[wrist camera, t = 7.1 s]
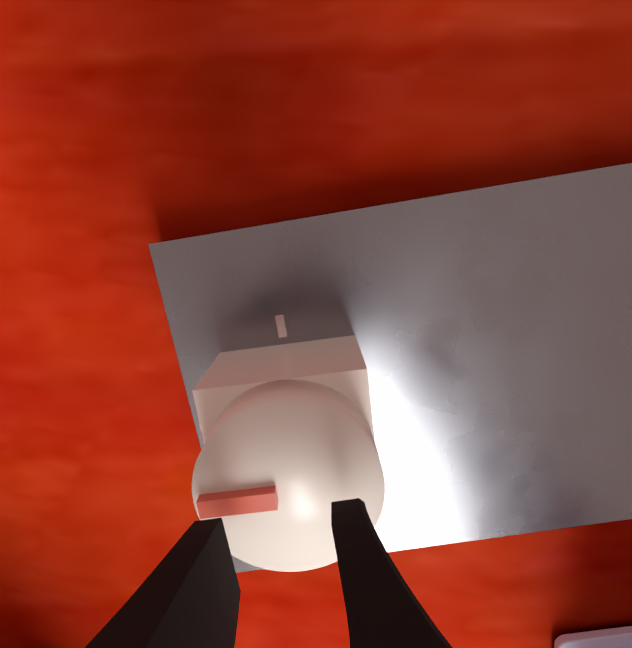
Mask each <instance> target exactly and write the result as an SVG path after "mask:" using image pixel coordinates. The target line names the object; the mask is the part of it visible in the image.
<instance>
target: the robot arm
mask: <svg viewBox="0 0 632 648" xmlns="http://www.w3.org/2000/svg"><path fill="white" fill-rule="evenodd" d="M331 526H332V532H333V538H334V543H335V549H336V555H337V560H338V566H339V572H340V577H341V583H342V589H343V594H344V600H345V606H346V612H347V619H348V627H349V636H350V648H452V647H451V645H450V644H449V643H448V641H447V640H446V639H445V638H444V636H443V635H442V634H441V632H440V631H439V630H438V628H437V627H436V625H435V624H434V623H433V621H432V620H431V619H430V617H429V616H428V614H427V613H426V612H425V610H424V609H423V607H422V606H421V604H420V603H419V602H418V600H417V599H416V597H415V596H414V594H413V593H412V591H411V590H410V588H409V587H408V585H407V584H406V582H405V581H404V579H403V577H402V576H401V574H400V573H399V571H398V569H397V568H396V566H395V564H394V563H393V561H392V559H391V558H390V556H389V555H388V553H387V551H386V549H385V547H384V546H383V544H382V542H381V540H380V538H379V536H378V534H377V532H376V530H375V528H374V526H373V524H372V522H371V520H370V517H369V515H368V512H367V509H366V506H365V502H364V501H362V500H361V499H359V498H356V499H349V500H342V501H335V502H331ZM240 592H241V591H240V587H239V583H238V579H237V575H236V572H235V568H234V564H233V560H232V556H231V552H230V548H229V544H228V540H227V537H226V533H225V529H224V525H223V521H222V518H214V519H207V520H200V521H195V522H194V523H193V524H192V525H191V526H190V528H189V529H188V530H187V531H186V532H185V533H184V535H183V536H182V537H181V538H180V539H179V541H178V542H177V543H176V544H175V545H174V547H173V548H172V549H171V550H170V551H169V553H168V554H167V555H166V556H165V557H164V559H163V560H162V561H161V562H160V563H159V565H158V566H157V567H156V568H155V569H154V571H153V572H152V573H151V574H150V575H149V576H148V578H147V579H146V580H145V581H144V582H143V584H142V585H141V586H140V587H139V588H138V589H137V591H136V592H135V593H134V594H133V595H132V596H131V598H130V599H129V600H128V601H127V602H126V603H125V605H124V606H123V607H122V608H121V609H120V610H119V611H118V612H117V613H116V614H115V616H114V617H113V618H112V619H111V620H110V621H109V622H108V623H107V624H106V625H105V626H104V627H103V629H102V630H101V631H100V632H99V633H98V634H97V635H96V636H95V637H94V638H93V639H92V641H91V642H90V643H89V644H88V645H87V646H86V647H85V648H234V645H235V637H236V629H237V621H238V611H239V601H240ZM554 648H632V626H626V627H618V628H610V629H602V630H594V631H586V632H578V633H570V634H563V635H560V636H559V637H557V638H556V640H555V643H554Z"/></svg>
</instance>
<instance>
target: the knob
mask: <svg viewBox="0 0 632 648" xmlns="http://www.w3.org/2000/svg"><path fill="white" fill-rule="evenodd" d="M192 392H193V397H194V401H195V406H196V410H197V415H198V419H199V424H200V428H201V432H202V437H203V441H204V446H203V448H202V450H201V452H200V454H199V456H198V458H197V461H196V464H195V467H194V471H193V478H192V496H193V502H194V506H195V509H196V512H197V515H198V517H199V519H200V520H207V519H214V518H222V521H223V525H224V529H225V533H226V537H227V540H228V544H229V548H230V552H231V555H233V556H234V557H236V558H238V559H240V560H242V561H243V562H246V563H248V564H251V565H253V566H256V567H260V568H263V569H268V570H274V571H284V572H296V571H306V570H312V569H316V568H320V567H323V566H326V565H329V564H331V563H334V562H336V561H338V560H337V555H336V549H335V543H334V538H333V532H332V526H331V502H335V501H342V500H349V499H356V498H359V499H361V500H362V501H364V502H365V506H366V509H367V512H368V515H369V517H370V520H371V522H372V524H373V526H374V527H375V525H376V524H377V521H378V520H381V519H383V510H382V508H383V504H384V497H385V480H384V475H383V470H382V466H381V462H380V458H379V455H378V451H377V447H376V444H375V436H374V427H373V418H372V409H371V400H370V391H369V381H368V372H367V367H366V364H365V361H364V358H363V356H362V353H361V350H360V347H359V344H358V341H357V339H356V336H355V335H351V336H344V337H336V338H328V339H320V340H313V341H305V342H297V343H289V344H281V345H274V346H266V347H258V348H250V349H243V350H235V351H227V352H220V353H219V355H218V356H217V357H216V359H215V360H214V362H213V363H212V364H211V366H210V367H209V368H208V370H207V371H206V372H205V374H204V375H203V377H202V378H201V379H200V381H199V382H198V383H197V385H196V386H195V388H194V389H193V390H192Z"/></svg>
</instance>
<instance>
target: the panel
mask: <svg viewBox="0 0 632 648" xmlns="http://www.w3.org/2000/svg"><path fill="white" fill-rule="evenodd" d="M148 245H149V249H150V253H151V257H152V261H153V265H154V268H155V272H156V276H157V280H158V284H159V288H160V292H161V295H162V299H163V303H164V307H165V311H166V315H167V319H168V322H169V326H170V330H171V334H172V338H173V342H174V346H175V350H176V353H177V357H178V361H179V365H180V369H181V373H182V377H183V380H184V384H185V388H186V392H187V396H188V400H189V404H190V407H191V411H192V415H193V419H194V423H195V427H196V431H197V434H198V438H199V442H200V446H201V450H202V448H203V446H204V441H203V437H202V432H201V428H200V424H199V419H198V415H197V410H196V406H195V401H194V397H193V392H192V390H193V389H194V388H195V386H196V385H197V383H198V382H199V381H200V379H201V378H202V377H203V375H204V374H205V372H206V371H207V370H208V368H209V367H210V366H211V364H212V363H213V362H214V360H215V359H216V357H217V356H218V355H219V353H220V352H227V351H235V350H243V349H250V348H258V347H266V346H274V345H281V344H289V343H297V342H305V341H313V340H320V339H328V338H336V337H344V336H351V335H355V336H356V339H357V341H358V344H359V347H360V350H361V353H362V356H363V358H364V361H365V364H366V367H367V372H368V381H369V391H370V400H371V409H372V418H373V427H374V436H375V444H376V447H377V451H378V455H379V458H380V462H381V466H382V470H383V475H384V480H385V497H384V504H383V508H382V510H383V519H381V520H378V521H377V524H376V525H375V527H374V528H375V530H376V532H377V534H378V536H379V538H380V540H381V542H382V544H383V546H384V547H385V549H386V551H387V552H392V551H400V550H407V549H414V548H422V547H429V546H436V545H444V544H451V543H458V542H466V541H473V540H481V539H488V538H495V537H503V536H510V535H517V534H525V533H532V532H539V531H547V530H554V529H562V528H569V527H576V526H584V525H591V524H598V523H606V522H613V521H620V520H628V519H632V163H628V164H622V165H616V166H610V167H604V168H598V169H592V170H586V171H580V172H574V173H569V174H563V175H557V176H551V177H545V178H539V179H533V180H527V181H521V182H515V183H509V184H503V185H497V186H491V187H485V188H479V189H473V190H468V191H462V192H456V193H450V194H444V195H438V196H432V197H426V198H420V199H414V200H408V201H402V202H396V203H390V204H384V205H378V206H372V207H367V208H361V209H355V210H349V211H343V212H337V213H331V214H325V215H319V216H313V217H307V218H301V219H295V220H289V221H283V222H277V223H271V224H265V225H260V226H254V227H248V228H242V229H236V230H230V231H224V232H218V233H212V234H206V235H200V236H194V237H188V238H182V239H176V240H170V241H164V242H159V243H153V244H148ZM231 556H232V560H233V564H234V568H235V572H236V573H238V572H245V571H252V570H260V569H263V568H260V567H256V566H253V565H251V564H248V563H246V562H243V561H242V560H240V559H238V558H236V557H234V556H233V555H231Z"/></svg>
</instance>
